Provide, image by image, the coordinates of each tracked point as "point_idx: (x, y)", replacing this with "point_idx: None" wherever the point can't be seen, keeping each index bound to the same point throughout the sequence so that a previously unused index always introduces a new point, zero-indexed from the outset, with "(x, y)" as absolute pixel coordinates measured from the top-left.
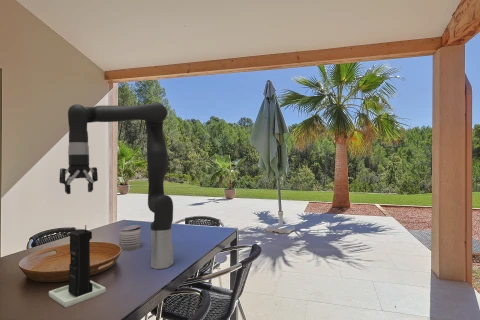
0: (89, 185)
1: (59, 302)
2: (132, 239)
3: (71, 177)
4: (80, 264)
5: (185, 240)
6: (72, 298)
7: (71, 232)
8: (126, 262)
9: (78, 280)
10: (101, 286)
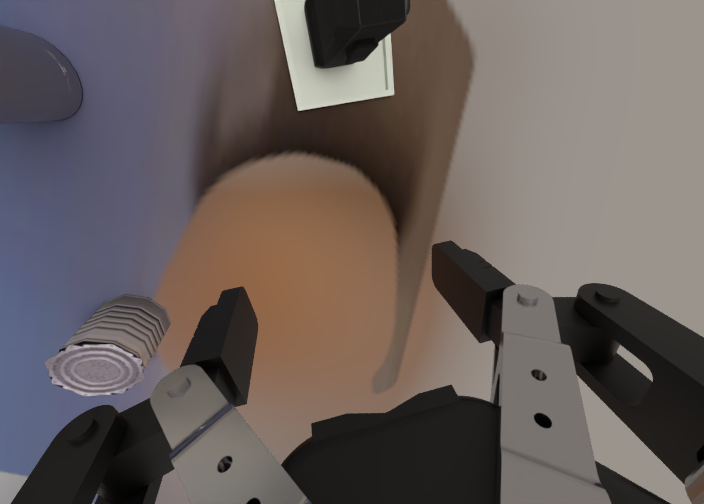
0: (235, 348)
1: None
2: (111, 318)
3: (571, 360)
4: None
5: None
6: None
7: (405, 4)
8: (166, 203)
9: None
10: (277, 1)
